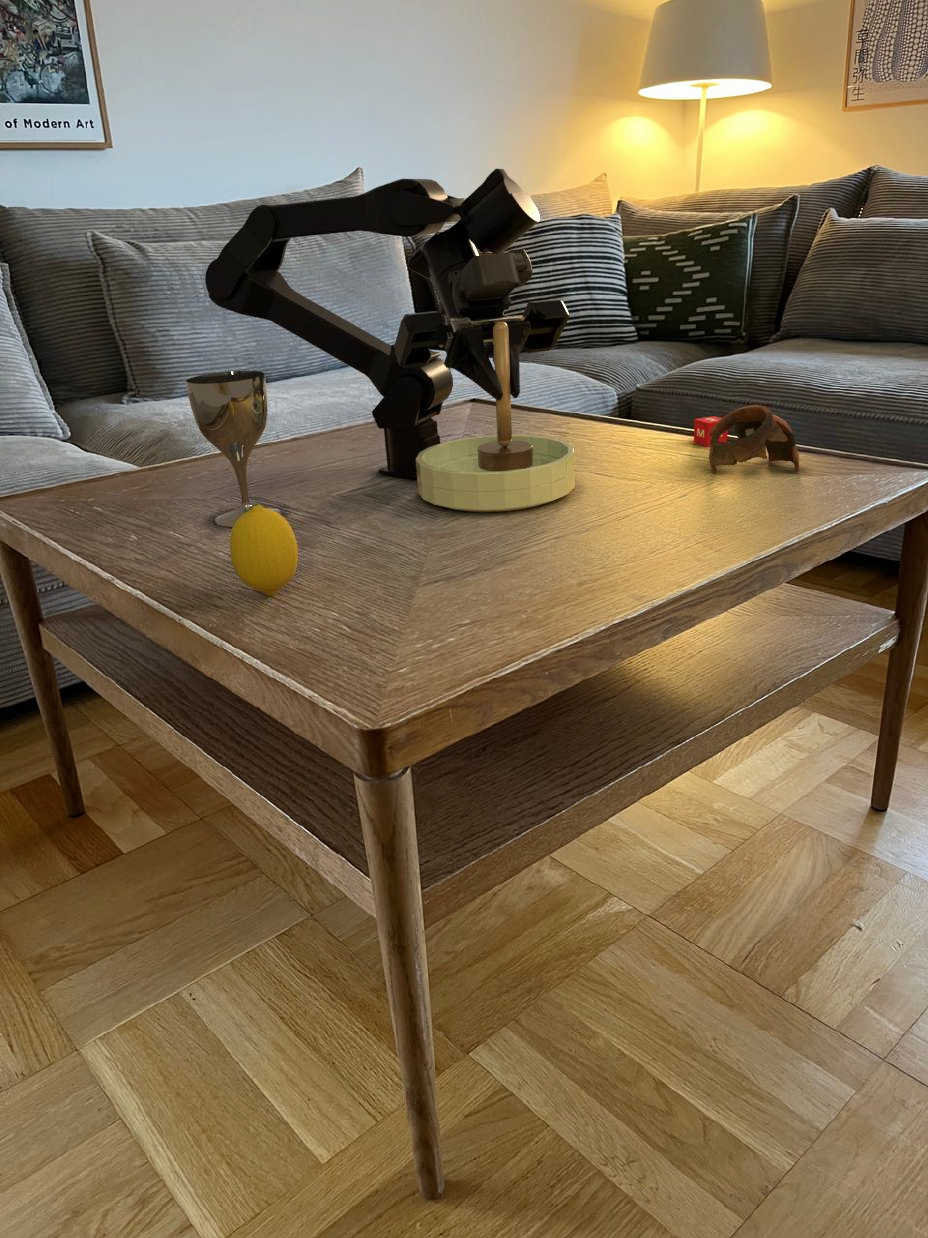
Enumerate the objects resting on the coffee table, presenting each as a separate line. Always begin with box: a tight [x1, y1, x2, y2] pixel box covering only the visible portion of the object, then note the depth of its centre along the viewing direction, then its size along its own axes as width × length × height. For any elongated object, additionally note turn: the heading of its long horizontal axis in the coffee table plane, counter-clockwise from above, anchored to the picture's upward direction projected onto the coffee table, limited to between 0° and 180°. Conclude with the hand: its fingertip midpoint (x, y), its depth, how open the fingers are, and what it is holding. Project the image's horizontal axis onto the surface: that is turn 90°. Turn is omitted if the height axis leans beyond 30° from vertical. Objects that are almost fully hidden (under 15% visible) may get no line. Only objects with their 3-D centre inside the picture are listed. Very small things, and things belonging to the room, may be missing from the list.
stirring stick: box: [477, 322, 533, 472], centre depth 97 cm, size 6×6×15 cm
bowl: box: [416, 434, 576, 513], centre depth 102 cm, size 17×17×4 cm
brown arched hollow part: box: [708, 404, 801, 473], centre depth 104 cm, size 12×10×8 cm
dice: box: [693, 415, 729, 448], centre depth 117 cm, size 3×3×3 cm
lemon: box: [229, 504, 299, 597], centre depth 76 cm, size 6×6×8 cm
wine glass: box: [185, 370, 282, 528], centre depth 97 cm, size 8×8×15 cm
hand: (508, 396), depth 95 cm, fingers closed on stirring stick
